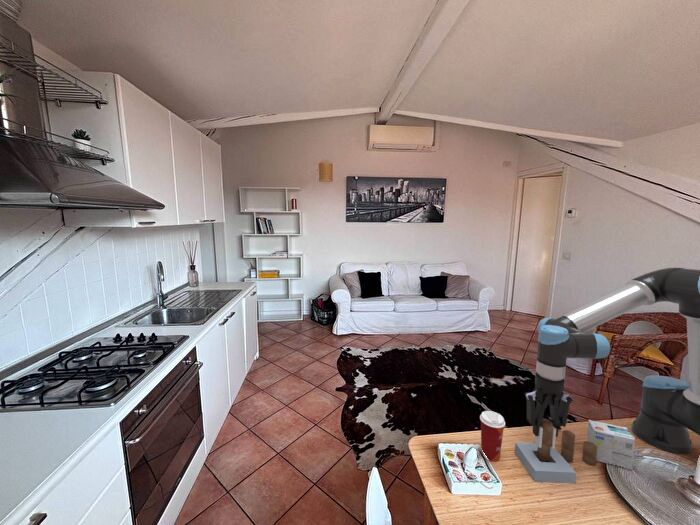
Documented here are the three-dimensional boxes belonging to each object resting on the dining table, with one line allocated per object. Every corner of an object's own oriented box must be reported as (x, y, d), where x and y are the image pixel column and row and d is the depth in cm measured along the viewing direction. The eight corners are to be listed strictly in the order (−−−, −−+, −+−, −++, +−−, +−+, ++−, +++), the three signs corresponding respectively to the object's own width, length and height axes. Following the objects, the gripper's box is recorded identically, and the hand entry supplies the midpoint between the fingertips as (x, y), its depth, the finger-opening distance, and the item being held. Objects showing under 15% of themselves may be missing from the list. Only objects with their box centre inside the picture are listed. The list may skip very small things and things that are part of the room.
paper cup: (506, 465, 95) (508, 425, 93) (481, 462, 96) (483, 422, 95) (499, 448, 102) (501, 410, 101) (475, 445, 104) (477, 408, 102)
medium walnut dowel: (568, 455, 99) (570, 430, 98) (575, 462, 96) (577, 437, 95) (558, 454, 99) (560, 429, 99) (564, 462, 96) (566, 436, 95)
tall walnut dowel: (545, 455, 96) (548, 418, 94) (551, 463, 92) (555, 425, 91) (534, 455, 96) (537, 417, 94) (540, 463, 92) (543, 424, 91)
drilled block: (550, 453, 100) (551, 444, 100) (575, 483, 88) (576, 472, 88) (514, 451, 101) (515, 442, 100) (534, 481, 89) (535, 470, 88)
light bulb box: (624, 456, 99) (627, 426, 98) (633, 471, 93) (636, 439, 92) (585, 446, 103) (587, 418, 102) (591, 460, 97) (594, 430, 96)
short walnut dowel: (590, 458, 98) (592, 441, 97) (598, 466, 95) (600, 449, 94) (580, 457, 98) (581, 441, 98) (587, 465, 95) (589, 448, 94)
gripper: (568, 370, 94) (562, 437, 97) (516, 368, 95) (512, 435, 98) (586, 382, 87) (579, 455, 89) (529, 380, 88) (524, 452, 90)
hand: (544, 444), depth 94 cm, fingers closed on tall walnut dowel, 3 cm apart
